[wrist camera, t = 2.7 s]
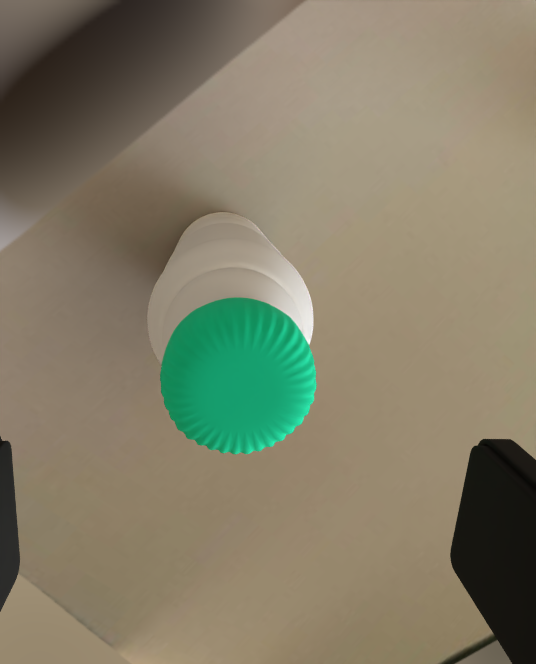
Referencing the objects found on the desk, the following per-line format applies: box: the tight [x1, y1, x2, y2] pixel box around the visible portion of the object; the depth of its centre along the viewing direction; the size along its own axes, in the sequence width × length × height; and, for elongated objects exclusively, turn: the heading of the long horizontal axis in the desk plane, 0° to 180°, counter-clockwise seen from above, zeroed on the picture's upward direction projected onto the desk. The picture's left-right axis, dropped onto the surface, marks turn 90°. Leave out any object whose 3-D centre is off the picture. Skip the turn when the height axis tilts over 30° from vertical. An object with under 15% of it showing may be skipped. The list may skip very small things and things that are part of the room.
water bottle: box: [147, 212, 316, 454], centre depth 26 cm, size 7×7×25 cm
